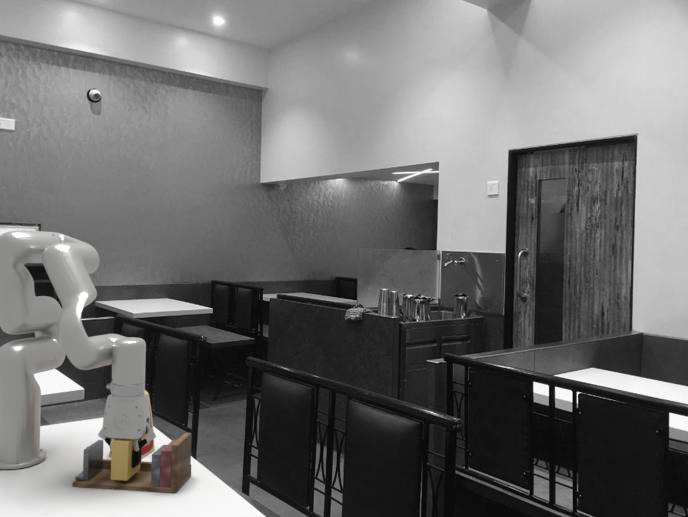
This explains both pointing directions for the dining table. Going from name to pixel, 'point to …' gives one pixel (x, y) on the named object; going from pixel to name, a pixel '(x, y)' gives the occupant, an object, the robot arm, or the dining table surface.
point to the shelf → (150, 471)
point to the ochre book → (122, 460)
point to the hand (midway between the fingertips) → (126, 464)
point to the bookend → (92, 461)
